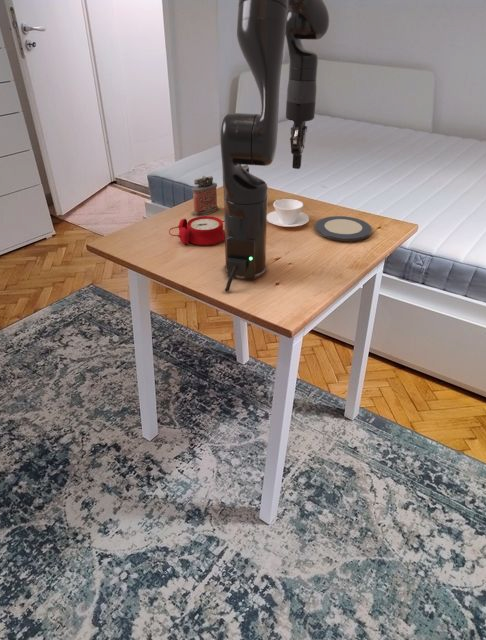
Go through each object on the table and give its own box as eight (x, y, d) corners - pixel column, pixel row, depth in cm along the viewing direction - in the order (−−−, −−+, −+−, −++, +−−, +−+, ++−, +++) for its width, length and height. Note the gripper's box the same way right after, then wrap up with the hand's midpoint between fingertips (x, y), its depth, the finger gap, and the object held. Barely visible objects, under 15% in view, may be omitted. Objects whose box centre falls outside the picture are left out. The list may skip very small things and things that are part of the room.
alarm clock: (231, 231, 121) (171, 221, 117) (226, 254, 124) (168, 245, 120) (227, 215, 129) (171, 205, 125) (222, 237, 132) (168, 228, 129)
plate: (369, 246, 123) (370, 241, 122) (311, 239, 126) (311, 234, 125) (372, 223, 134) (373, 218, 134) (318, 218, 137) (319, 213, 136)
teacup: (286, 211, 141) (287, 193, 138) (317, 223, 134) (319, 204, 131) (257, 221, 135) (257, 203, 132) (288, 235, 128) (289, 215, 125)
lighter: (212, 206, 144) (211, 172, 138) (220, 209, 142) (219, 175, 136) (191, 213, 139) (188, 178, 133) (198, 216, 137) (196, 181, 131)
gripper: (291, 94, 130) (287, 160, 141) (282, 102, 120) (278, 173, 130) (318, 95, 129) (313, 162, 139) (312, 104, 118) (306, 176, 129)
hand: (296, 167), depth 135 cm, fingers closed
